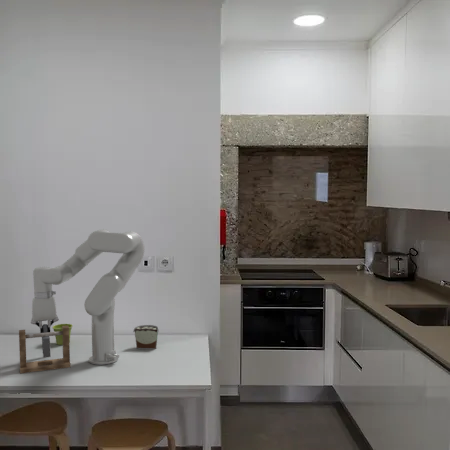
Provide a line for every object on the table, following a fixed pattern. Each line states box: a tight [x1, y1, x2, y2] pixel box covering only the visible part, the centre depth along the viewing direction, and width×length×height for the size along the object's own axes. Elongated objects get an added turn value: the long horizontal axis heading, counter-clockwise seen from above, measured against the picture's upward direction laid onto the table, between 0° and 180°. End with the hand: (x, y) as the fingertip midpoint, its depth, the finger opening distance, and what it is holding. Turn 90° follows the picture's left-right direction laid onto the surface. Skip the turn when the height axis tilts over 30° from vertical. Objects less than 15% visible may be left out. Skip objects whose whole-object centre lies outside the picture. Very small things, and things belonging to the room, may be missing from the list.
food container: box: [133, 324, 160, 350], centre depth 255 cm, size 12×6×10 cm, turn 84°
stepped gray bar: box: [41, 323, 51, 359], centre depth 237 cm, size 8×3×14 cm, turn 21°
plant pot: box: [52, 323, 73, 346], centre depth 261 cm, size 9×9×9 cm
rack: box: [18, 326, 71, 374], centre depth 227 cm, size 20×9×16 cm, turn 111°
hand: (45, 335), depth 237 cm, fingers closed on stepped gray bar, 1 cm apart
